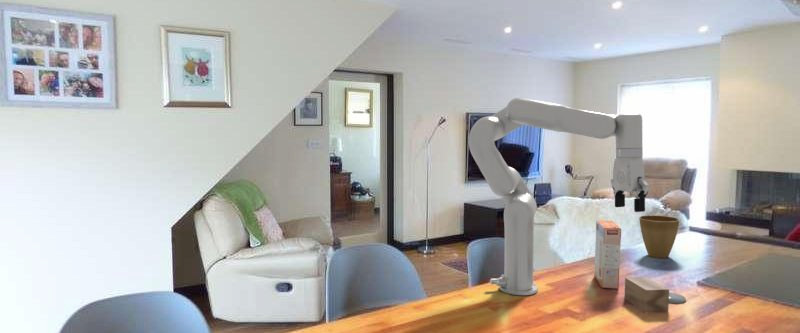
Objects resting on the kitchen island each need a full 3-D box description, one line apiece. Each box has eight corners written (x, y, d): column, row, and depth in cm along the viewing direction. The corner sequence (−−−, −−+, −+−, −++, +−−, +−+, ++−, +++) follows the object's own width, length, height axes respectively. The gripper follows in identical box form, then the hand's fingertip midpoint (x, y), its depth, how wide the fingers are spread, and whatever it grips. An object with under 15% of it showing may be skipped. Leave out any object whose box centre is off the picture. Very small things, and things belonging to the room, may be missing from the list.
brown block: (645, 313, 150) (646, 290, 149) (624, 299, 162) (625, 277, 161) (668, 312, 151) (669, 289, 150) (645, 298, 163) (646, 277, 162)
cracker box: (620, 289, 171) (622, 228, 169) (601, 288, 172) (602, 227, 170) (611, 277, 184) (613, 220, 182) (593, 276, 185) (595, 219, 184)
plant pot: (679, 254, 215) (680, 216, 213) (676, 262, 202) (678, 222, 201) (640, 249, 223) (641, 213, 221) (635, 257, 210) (636, 219, 209)
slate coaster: (665, 304, 157) (666, 302, 157) (647, 294, 166) (647, 292, 166) (692, 302, 158) (692, 300, 158) (672, 292, 167) (672, 291, 167)
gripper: (601, 153, 164) (602, 206, 165) (635, 155, 147) (636, 214, 148) (622, 152, 165) (623, 204, 166) (659, 154, 148) (659, 212, 149)
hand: (629, 209), depth 157 cm, fingers open, 9 cm apart
